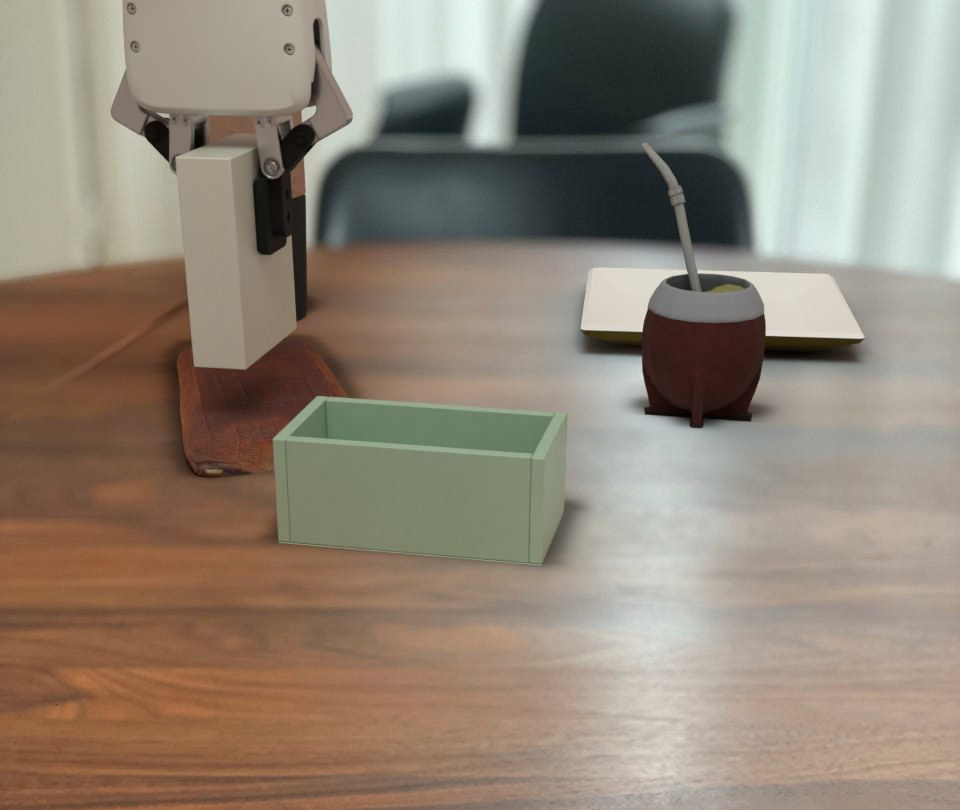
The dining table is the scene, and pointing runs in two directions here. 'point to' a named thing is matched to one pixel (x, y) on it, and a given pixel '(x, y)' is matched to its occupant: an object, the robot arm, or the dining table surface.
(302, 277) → the travel mug
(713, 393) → the mate gourd
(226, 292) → the rectangular block
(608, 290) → the plate
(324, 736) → the dining table surface
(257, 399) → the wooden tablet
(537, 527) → the bin
